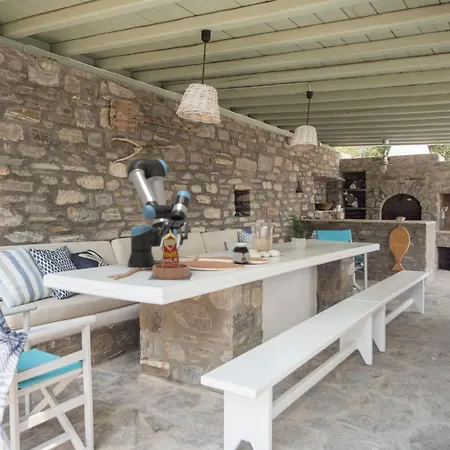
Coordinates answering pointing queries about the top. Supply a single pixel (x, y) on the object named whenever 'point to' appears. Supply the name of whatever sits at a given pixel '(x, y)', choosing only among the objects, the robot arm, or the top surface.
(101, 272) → the top surface
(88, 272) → the top surface
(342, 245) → the top surface
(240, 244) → the spread jar
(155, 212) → the robot arm
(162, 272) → the bowl
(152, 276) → the placemat
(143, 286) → the top surface
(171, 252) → the milk carton
